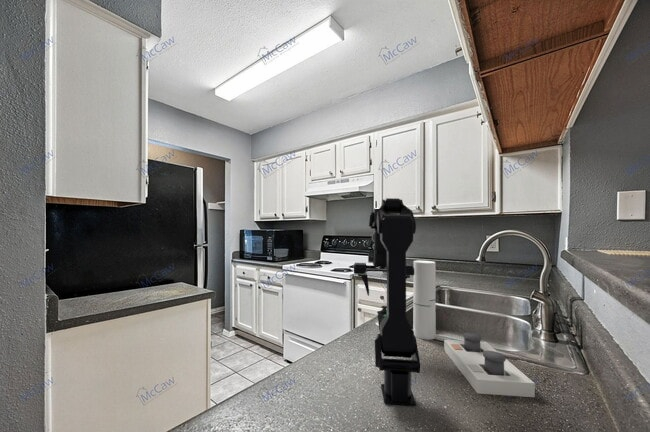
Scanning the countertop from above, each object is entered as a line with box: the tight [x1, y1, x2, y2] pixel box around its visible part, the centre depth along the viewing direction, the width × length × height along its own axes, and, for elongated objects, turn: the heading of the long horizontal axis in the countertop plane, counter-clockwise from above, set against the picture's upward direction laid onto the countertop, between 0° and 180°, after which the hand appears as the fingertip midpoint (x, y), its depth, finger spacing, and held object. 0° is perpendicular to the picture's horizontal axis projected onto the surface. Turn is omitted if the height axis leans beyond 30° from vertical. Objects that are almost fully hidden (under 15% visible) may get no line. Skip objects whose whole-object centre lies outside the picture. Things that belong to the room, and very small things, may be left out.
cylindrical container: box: [412, 259, 437, 340], centre depth 96 cm, size 7×7×25 cm
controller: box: [376, 305, 387, 332], centre depth 91 cm, size 4×12×10 cm, turn 8°
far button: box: [462, 331, 482, 352], centre depth 79 cm, size 5×5×4 cm
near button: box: [483, 351, 507, 376], centre depth 67 cm, size 5×5×4 cm
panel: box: [443, 339, 536, 398], centre depth 73 cm, size 22×12×3 cm, turn 175°
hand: (382, 295), depth 89 cm, fingers open, 9 cm apart
